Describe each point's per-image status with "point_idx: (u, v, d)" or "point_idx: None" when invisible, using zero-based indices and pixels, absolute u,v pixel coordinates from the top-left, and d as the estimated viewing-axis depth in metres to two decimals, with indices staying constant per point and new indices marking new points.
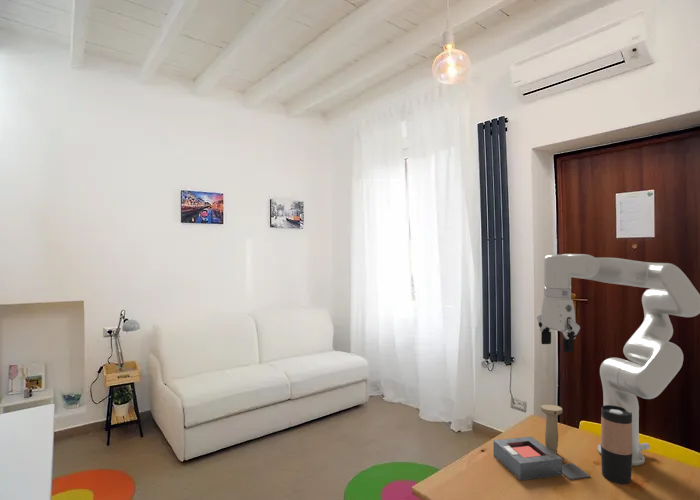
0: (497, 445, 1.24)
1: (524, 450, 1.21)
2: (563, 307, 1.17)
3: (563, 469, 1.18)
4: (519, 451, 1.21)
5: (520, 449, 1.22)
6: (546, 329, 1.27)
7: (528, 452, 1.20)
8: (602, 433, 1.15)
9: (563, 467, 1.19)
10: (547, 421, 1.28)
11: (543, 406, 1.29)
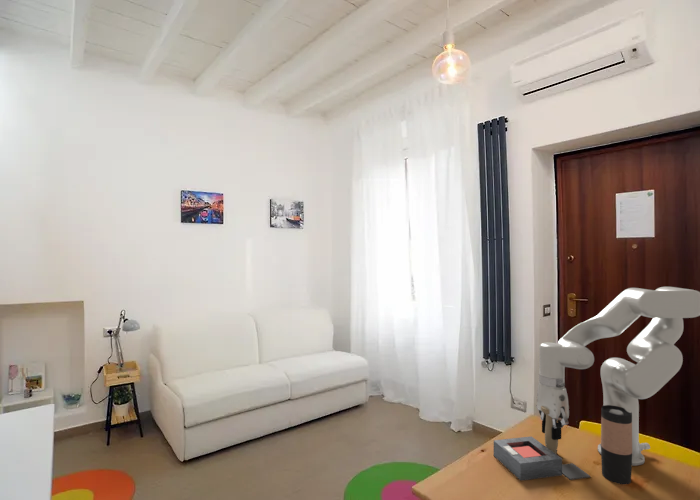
0: (497, 445, 1.24)
1: (524, 450, 1.21)
2: (557, 397, 1.24)
3: (563, 469, 1.18)
4: (519, 451, 1.21)
5: (520, 449, 1.22)
6: None
7: (528, 452, 1.20)
8: (602, 433, 1.15)
9: (563, 467, 1.19)
10: (547, 421, 1.28)
11: None
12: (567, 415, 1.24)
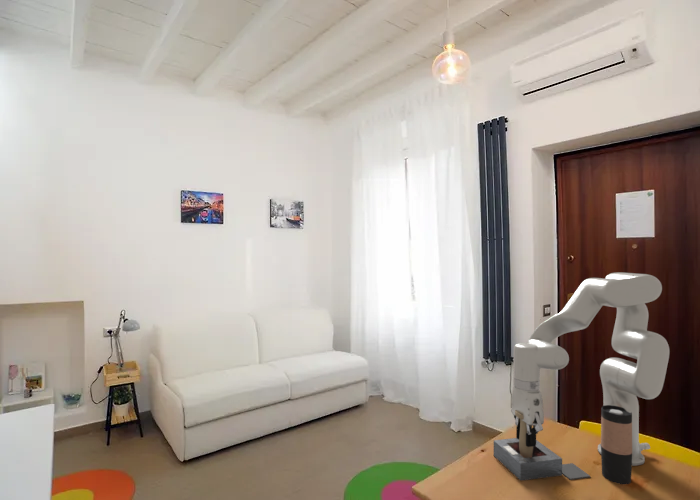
0: (497, 445, 1.24)
1: None
2: (531, 401, 1.16)
3: (563, 469, 1.18)
4: None
5: None
6: None
7: None
8: (602, 433, 1.15)
9: (563, 467, 1.19)
10: (521, 427, 1.20)
11: (517, 411, 1.22)
12: (542, 420, 1.16)
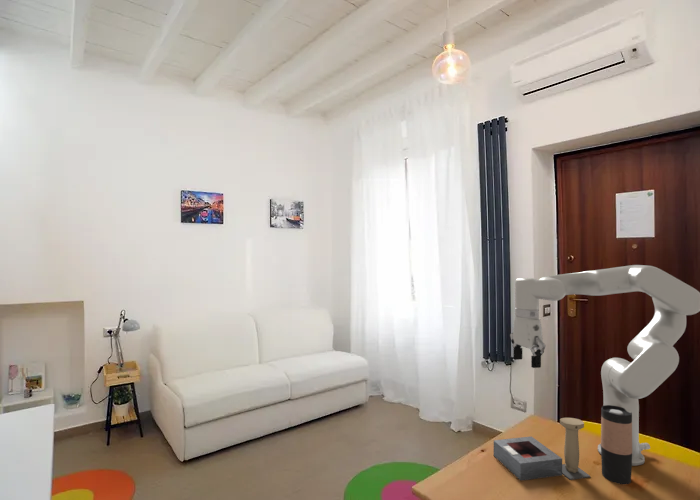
0: (497, 445, 1.24)
1: None
2: (531, 327, 1.29)
3: (563, 469, 1.18)
4: None
5: None
6: (518, 346, 1.38)
7: None
8: (602, 433, 1.15)
9: (563, 467, 1.19)
10: (567, 436, 1.17)
11: (562, 419, 1.18)
12: None
